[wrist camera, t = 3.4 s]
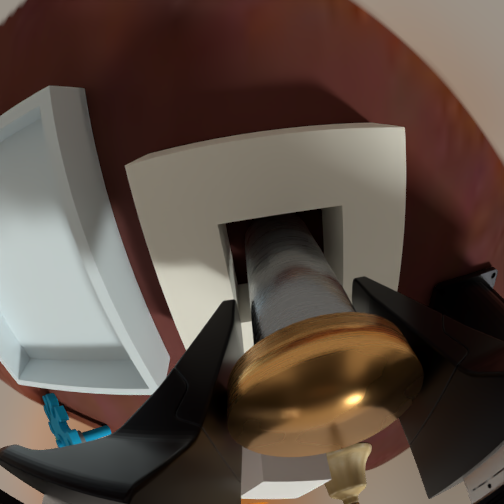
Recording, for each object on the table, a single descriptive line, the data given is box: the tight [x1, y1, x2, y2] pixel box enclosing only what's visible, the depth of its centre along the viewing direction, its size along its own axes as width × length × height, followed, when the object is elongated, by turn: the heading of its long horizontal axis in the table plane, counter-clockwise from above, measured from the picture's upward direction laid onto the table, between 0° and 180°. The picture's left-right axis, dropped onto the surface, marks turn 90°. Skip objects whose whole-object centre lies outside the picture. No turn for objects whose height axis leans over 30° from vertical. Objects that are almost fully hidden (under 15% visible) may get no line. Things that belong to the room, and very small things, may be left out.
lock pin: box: [227, 213, 424, 457], centre depth 9 cm, size 4×4×9 cm
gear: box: [42, 393, 111, 448], centre depth 19 cm, size 11×6×10 cm
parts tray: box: [0, 86, 170, 395], centre depth 12 cm, size 13×16×3 cm
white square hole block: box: [125, 123, 406, 353], centre depth 12 cm, size 10×10×3 cm
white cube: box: [241, 446, 332, 499], centre depth 20 cm, size 6×6×6 cm
